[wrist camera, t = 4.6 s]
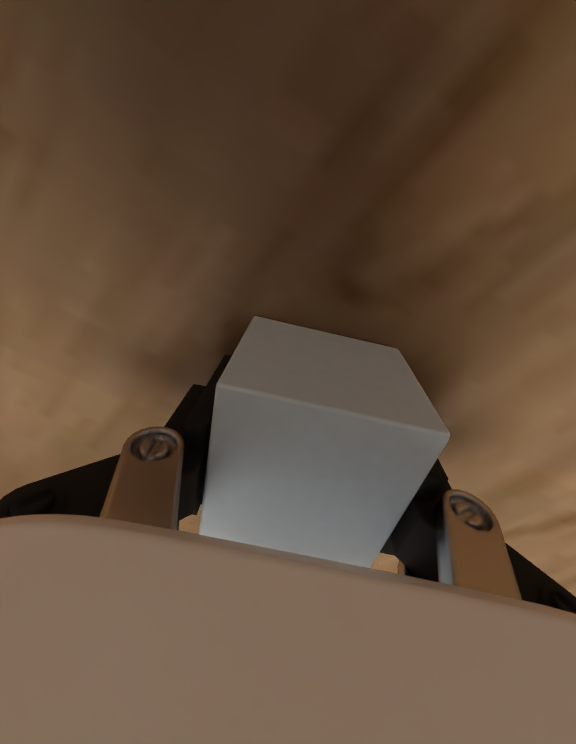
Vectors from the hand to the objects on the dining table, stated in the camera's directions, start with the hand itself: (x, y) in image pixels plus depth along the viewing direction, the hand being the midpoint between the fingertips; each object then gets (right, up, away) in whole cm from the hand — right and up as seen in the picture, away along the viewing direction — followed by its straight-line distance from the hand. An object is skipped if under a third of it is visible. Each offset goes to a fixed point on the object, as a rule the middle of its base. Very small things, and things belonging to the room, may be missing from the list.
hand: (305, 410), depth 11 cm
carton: (0, 0, 0) cm, 0 cm away
